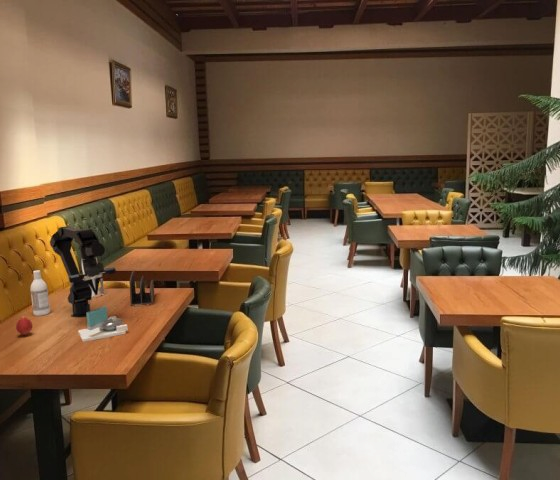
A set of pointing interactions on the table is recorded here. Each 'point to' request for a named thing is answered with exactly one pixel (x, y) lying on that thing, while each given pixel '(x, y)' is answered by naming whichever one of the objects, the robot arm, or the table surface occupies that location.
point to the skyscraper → (94, 283)
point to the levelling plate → (101, 333)
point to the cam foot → (102, 320)
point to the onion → (24, 326)
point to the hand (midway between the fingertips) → (96, 294)
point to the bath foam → (39, 295)
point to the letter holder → (140, 297)
